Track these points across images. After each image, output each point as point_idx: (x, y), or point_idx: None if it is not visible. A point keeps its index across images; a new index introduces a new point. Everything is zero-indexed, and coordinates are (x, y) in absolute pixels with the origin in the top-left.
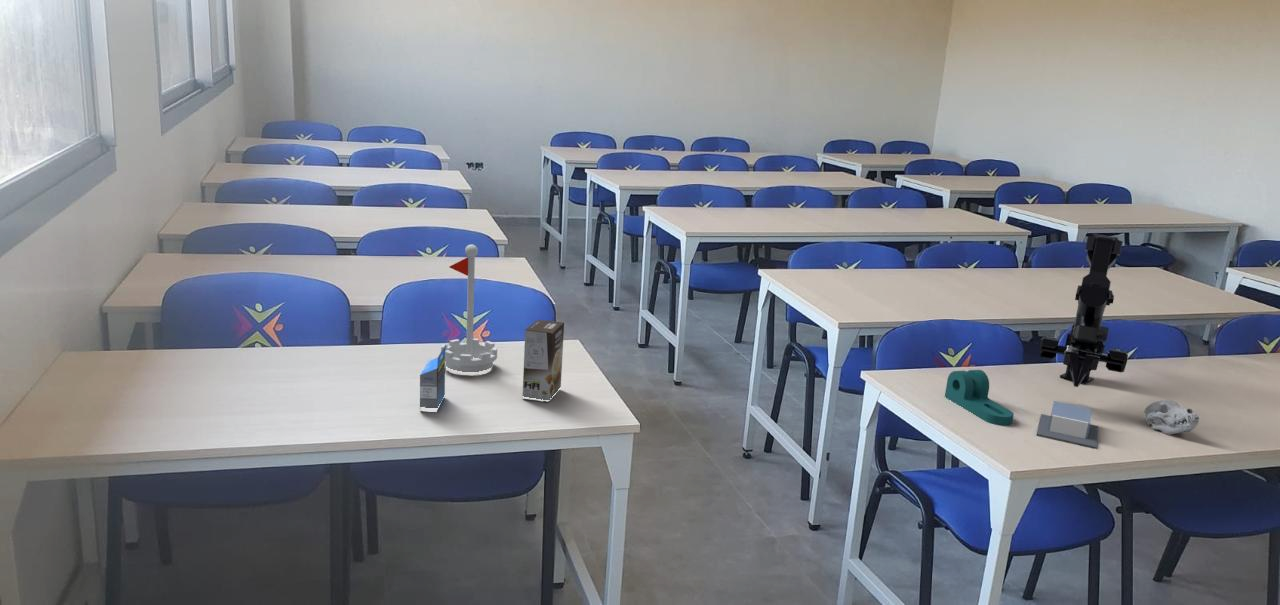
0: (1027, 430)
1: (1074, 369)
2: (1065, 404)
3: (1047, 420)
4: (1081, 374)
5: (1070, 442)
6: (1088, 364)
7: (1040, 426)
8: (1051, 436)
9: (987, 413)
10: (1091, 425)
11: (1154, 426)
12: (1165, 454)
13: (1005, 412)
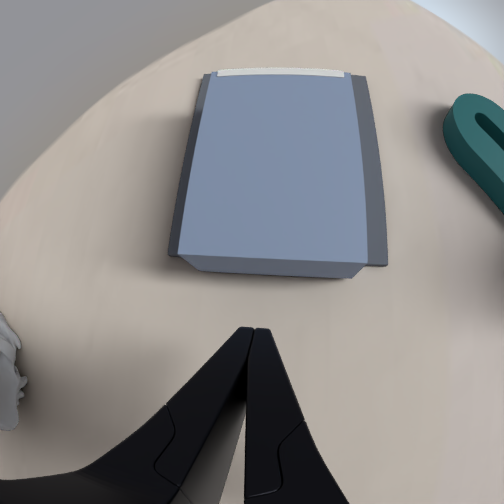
0: (394, 103)
1: (286, 431)
2: (306, 238)
3: None
4: (206, 391)
5: None
6: (103, 479)
7: (369, 130)
8: None
9: (499, 107)
10: None
11: (12, 336)
12: (46, 156)
13: (477, 129)
